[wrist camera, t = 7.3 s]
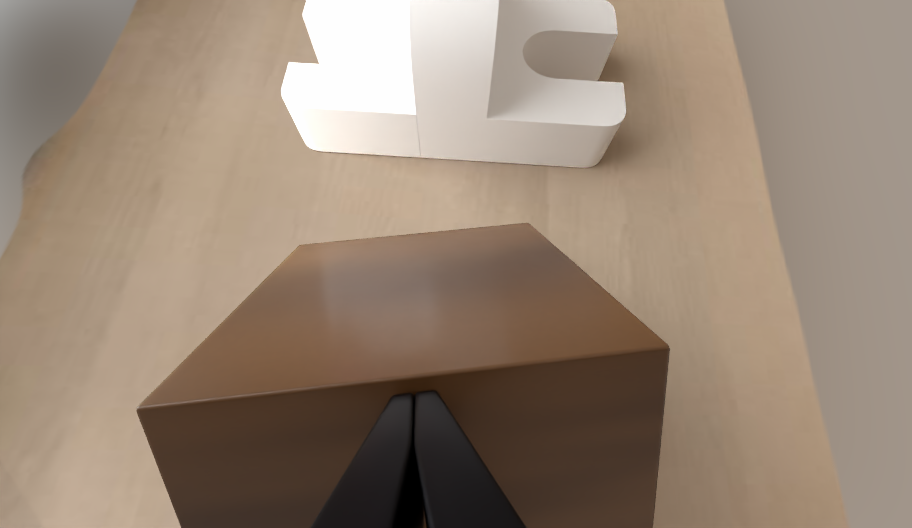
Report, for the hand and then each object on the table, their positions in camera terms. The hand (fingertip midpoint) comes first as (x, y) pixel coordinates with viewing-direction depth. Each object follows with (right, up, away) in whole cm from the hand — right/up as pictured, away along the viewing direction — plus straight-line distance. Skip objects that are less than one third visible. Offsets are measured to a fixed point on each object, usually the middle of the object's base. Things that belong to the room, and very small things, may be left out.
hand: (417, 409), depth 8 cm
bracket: (+1, +14, +20) cm, 24 cm away
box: (0, -5, +7) cm, 9 cm away
